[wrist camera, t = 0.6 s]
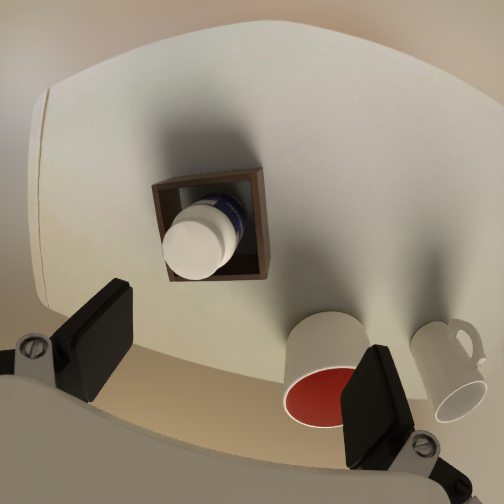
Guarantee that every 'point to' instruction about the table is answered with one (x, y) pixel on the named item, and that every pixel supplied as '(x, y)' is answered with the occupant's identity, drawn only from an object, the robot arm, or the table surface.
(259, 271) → the holder
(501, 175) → the table surface
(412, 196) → the table surface
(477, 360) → the mug
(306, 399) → the cup
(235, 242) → the pill bottle
